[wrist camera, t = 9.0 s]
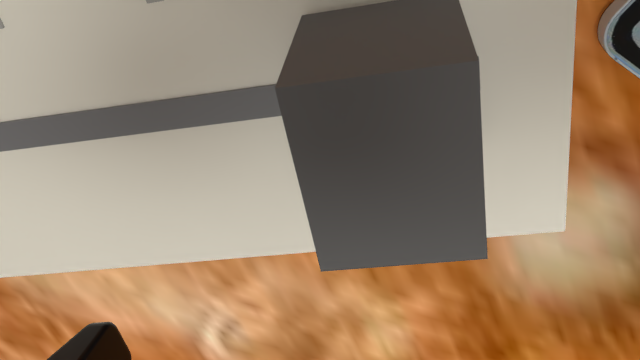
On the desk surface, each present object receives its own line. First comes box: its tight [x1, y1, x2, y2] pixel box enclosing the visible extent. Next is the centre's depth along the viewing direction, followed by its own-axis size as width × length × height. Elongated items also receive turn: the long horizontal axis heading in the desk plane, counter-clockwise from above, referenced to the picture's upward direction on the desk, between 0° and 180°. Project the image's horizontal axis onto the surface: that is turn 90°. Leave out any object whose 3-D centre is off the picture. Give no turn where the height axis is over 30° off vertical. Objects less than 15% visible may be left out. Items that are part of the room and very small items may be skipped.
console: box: [0, 0, 577, 278], centre depth 19 cm, size 22×12×3 cm, turn 101°
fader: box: [275, 0, 487, 271], centre depth 15 cm, size 4×5×4 cm
